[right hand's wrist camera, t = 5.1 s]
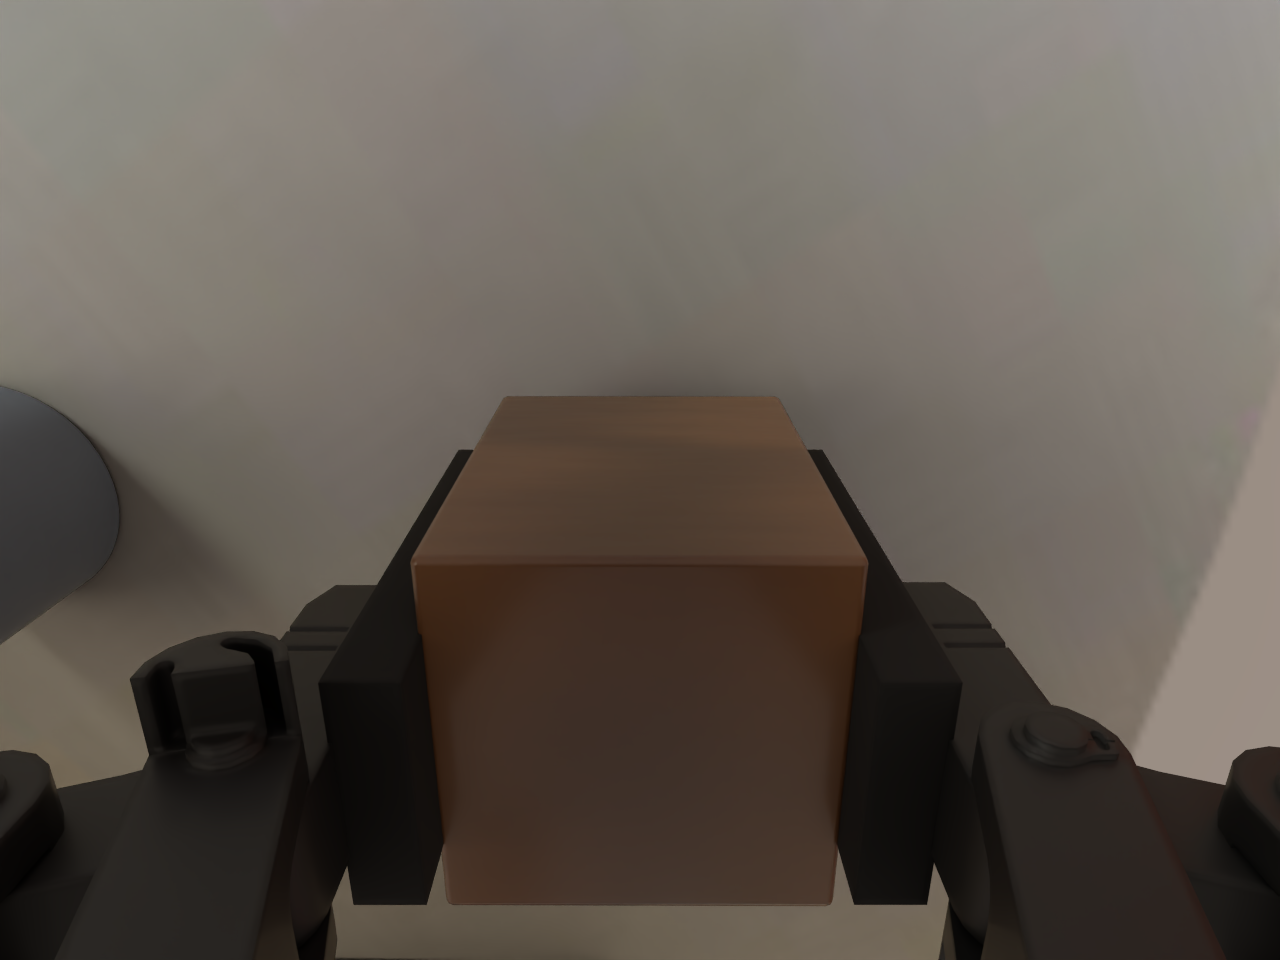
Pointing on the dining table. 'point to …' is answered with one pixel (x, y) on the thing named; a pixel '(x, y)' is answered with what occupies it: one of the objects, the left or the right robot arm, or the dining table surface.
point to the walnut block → (640, 656)
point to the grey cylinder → (48, 510)
